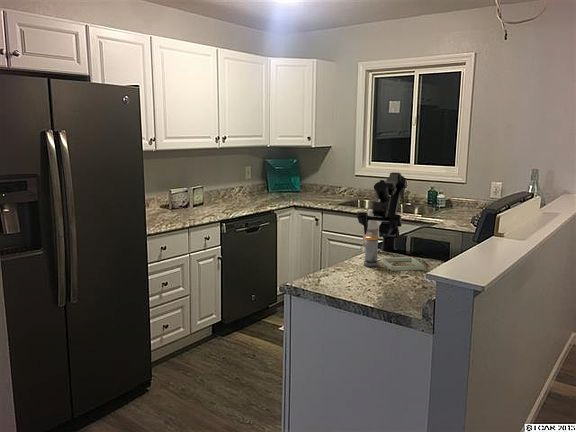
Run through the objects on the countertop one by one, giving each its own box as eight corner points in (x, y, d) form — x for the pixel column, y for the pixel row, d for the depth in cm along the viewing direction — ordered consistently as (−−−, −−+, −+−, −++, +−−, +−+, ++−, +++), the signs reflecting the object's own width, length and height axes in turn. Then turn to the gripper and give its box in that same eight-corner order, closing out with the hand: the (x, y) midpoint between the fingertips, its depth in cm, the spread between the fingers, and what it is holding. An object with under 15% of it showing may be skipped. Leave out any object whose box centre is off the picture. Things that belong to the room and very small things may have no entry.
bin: (381, 263, 199) (381, 257, 199) (411, 262, 201) (411, 256, 200) (391, 272, 186) (391, 266, 186) (423, 271, 187) (424, 265, 187)
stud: (361, 265, 196) (361, 263, 196) (376, 265, 197) (376, 263, 196) (365, 270, 190) (365, 267, 189) (380, 269, 190) (380, 267, 190)
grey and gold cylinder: (362, 263, 195) (363, 235, 193) (375, 263, 196) (376, 235, 194) (366, 267, 190) (366, 238, 188) (379, 267, 190) (380, 238, 188)
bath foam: (360, 252, 218) (361, 210, 214) (365, 249, 224) (366, 208, 220) (374, 254, 215) (375, 211, 211) (379, 250, 221) (380, 209, 217)
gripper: (358, 193, 202) (350, 222, 194) (401, 195, 195) (395, 226, 187) (363, 208, 211) (355, 237, 203) (404, 211, 203) (398, 241, 195)
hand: (375, 235), depth 197 cm, fingers open, 9 cm apart
